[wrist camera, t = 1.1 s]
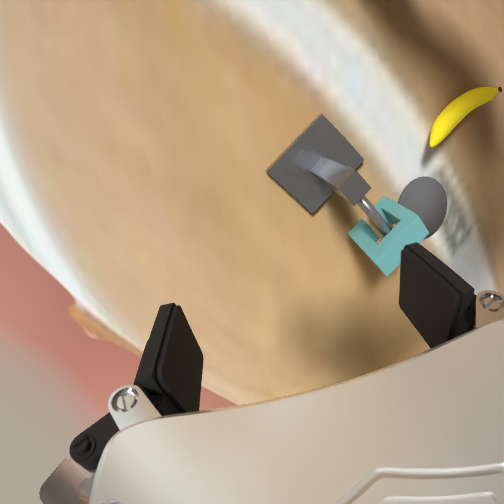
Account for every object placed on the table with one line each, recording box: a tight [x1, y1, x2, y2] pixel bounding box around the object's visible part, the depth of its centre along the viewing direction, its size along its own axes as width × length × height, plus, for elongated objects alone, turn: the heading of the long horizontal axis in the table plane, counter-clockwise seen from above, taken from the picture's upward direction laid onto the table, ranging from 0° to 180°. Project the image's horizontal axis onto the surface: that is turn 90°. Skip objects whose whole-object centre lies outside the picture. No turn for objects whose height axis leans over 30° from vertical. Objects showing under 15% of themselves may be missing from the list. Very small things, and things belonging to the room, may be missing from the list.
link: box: [347, 196, 429, 276], centre depth 31 cm, size 7×3×8 cm, turn 138°
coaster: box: [398, 177, 447, 239], centre depth 37 cm, size 10×10×1 cm
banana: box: [429, 87, 502, 148], centre depth 28 cm, size 3×19×6 cm, turn 131°
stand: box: [266, 114, 392, 236], centre depth 31 cm, size 10×18×11 cm, turn 48°
